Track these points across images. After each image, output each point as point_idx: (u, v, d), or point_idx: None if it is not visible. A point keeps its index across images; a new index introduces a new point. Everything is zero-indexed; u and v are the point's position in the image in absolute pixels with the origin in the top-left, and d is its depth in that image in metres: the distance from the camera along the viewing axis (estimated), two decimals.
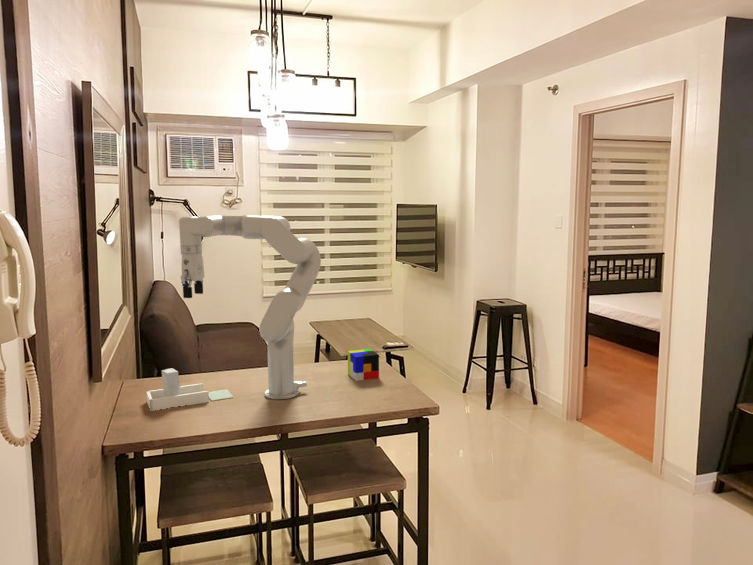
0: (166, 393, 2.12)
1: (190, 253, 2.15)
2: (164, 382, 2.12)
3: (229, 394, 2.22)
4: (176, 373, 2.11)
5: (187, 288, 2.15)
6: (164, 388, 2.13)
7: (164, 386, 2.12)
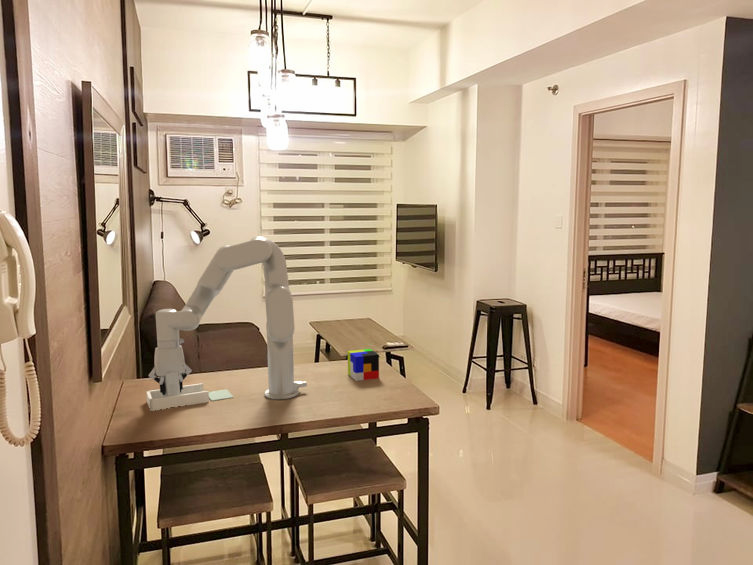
0: (166, 393, 2.12)
1: None
2: (164, 382, 2.12)
3: (229, 394, 2.22)
4: (176, 373, 2.11)
5: None
6: None
7: None
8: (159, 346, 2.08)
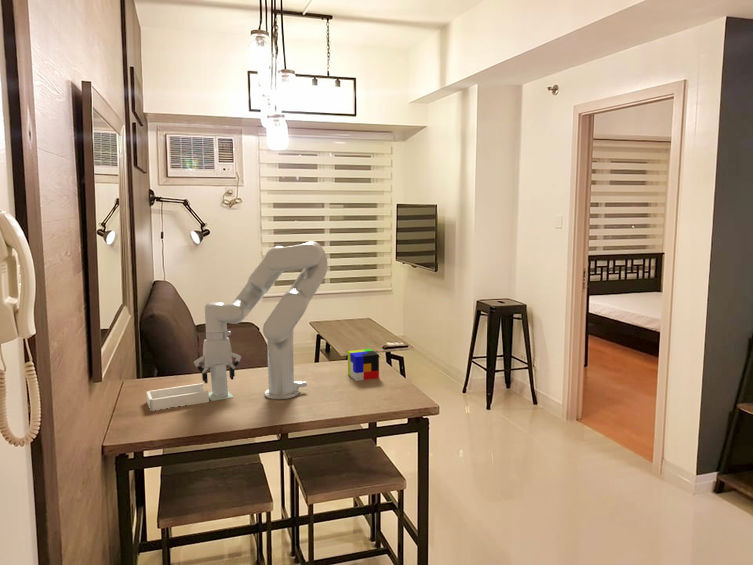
0: (214, 385, 2.19)
1: None
2: (212, 374, 2.20)
3: (229, 394, 2.22)
4: (224, 366, 2.18)
5: None
6: (212, 380, 2.20)
7: (212, 379, 2.20)
8: (208, 338, 2.15)
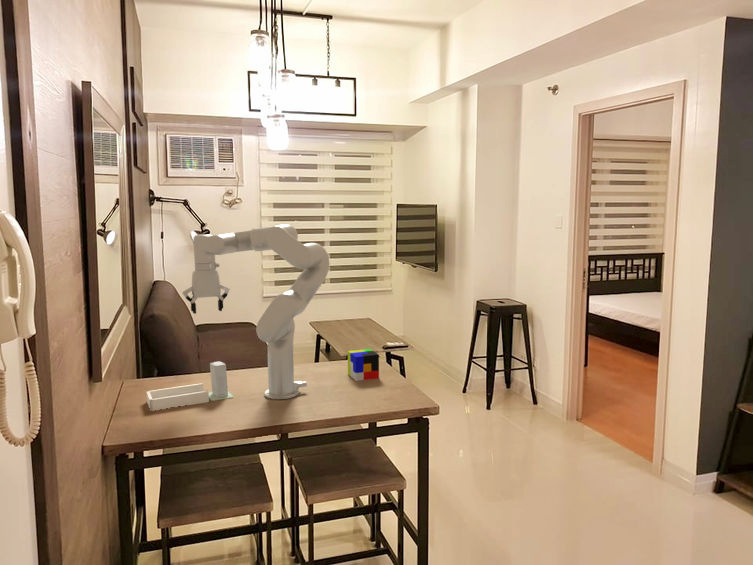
0: (214, 385, 2.19)
1: None
2: (212, 374, 2.20)
3: (229, 394, 2.22)
4: (224, 366, 2.18)
5: None
6: (212, 380, 2.20)
7: (212, 379, 2.20)
8: (197, 268, 2.20)
